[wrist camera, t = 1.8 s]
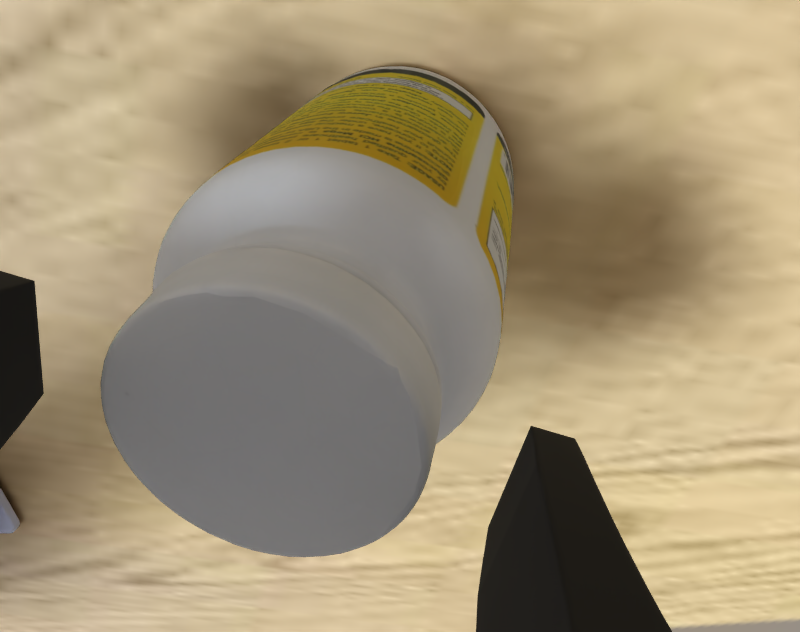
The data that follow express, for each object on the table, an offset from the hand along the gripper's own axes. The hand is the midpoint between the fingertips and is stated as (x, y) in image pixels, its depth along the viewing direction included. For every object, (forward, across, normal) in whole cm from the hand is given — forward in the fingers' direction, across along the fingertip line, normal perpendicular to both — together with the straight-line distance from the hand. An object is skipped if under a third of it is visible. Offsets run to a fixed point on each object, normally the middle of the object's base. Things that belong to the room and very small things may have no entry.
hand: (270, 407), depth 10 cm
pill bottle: (+11, 0, 0) cm, 11 cm away
